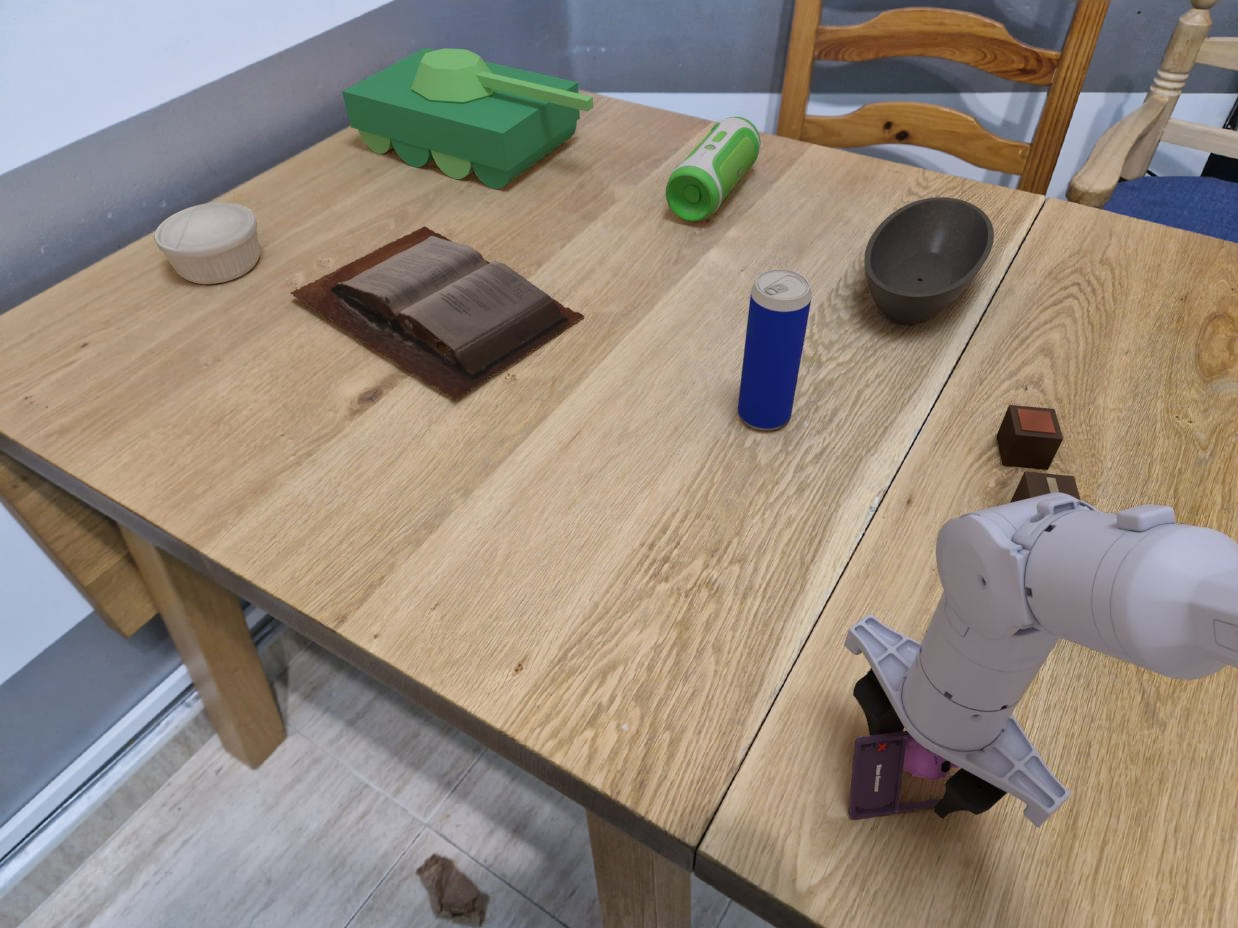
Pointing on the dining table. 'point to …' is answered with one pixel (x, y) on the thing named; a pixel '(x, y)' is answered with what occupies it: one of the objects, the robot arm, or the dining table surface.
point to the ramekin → (210, 242)
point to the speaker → (713, 169)
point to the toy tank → (465, 114)
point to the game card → (890, 773)
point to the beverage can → (773, 348)
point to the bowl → (926, 257)
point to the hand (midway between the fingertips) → (915, 774)
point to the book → (439, 309)
